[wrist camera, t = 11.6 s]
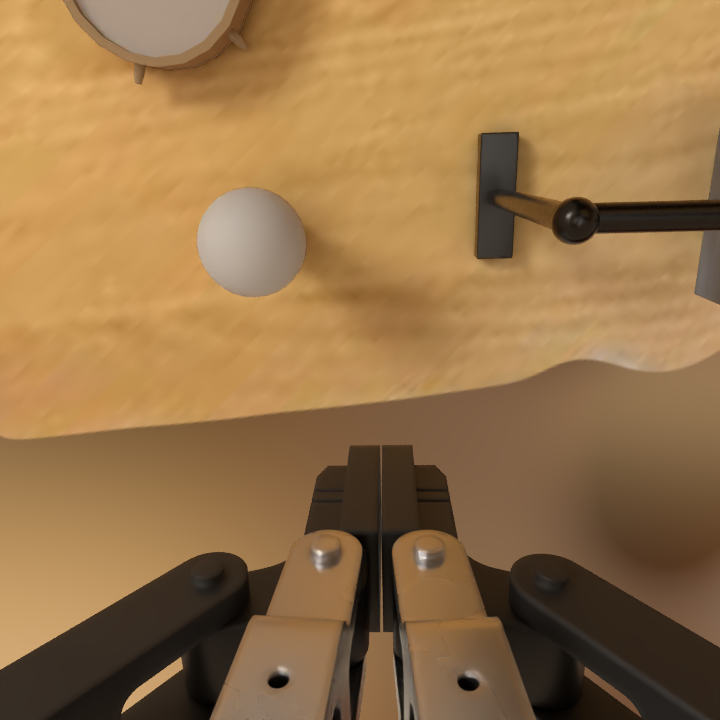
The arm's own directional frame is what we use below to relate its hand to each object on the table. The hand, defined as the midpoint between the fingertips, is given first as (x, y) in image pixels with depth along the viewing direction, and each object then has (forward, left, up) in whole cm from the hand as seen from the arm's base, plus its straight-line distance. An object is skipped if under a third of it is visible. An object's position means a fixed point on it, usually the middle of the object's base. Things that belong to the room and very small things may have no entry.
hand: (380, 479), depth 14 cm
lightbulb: (+1, -8, -29) cm, 30 cm away
